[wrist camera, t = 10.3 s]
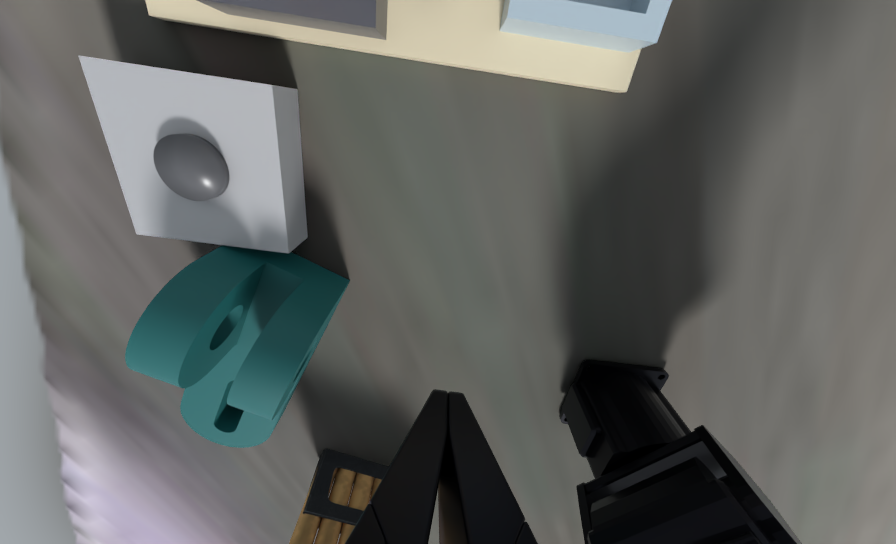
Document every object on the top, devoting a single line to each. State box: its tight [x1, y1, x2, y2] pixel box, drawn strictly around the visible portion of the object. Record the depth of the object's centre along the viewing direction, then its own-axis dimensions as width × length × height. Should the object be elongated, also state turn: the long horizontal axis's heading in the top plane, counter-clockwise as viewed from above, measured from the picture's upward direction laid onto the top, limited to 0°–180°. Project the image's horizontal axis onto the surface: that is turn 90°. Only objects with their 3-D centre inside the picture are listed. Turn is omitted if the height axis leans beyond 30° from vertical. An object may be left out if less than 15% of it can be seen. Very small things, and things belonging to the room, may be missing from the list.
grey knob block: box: [78, 55, 308, 253], centre depth 16 cm, size 8×8×3 cm
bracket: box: [125, 245, 350, 448], centre depth 20 cm, size 18×7×8 cm, turn 150°
